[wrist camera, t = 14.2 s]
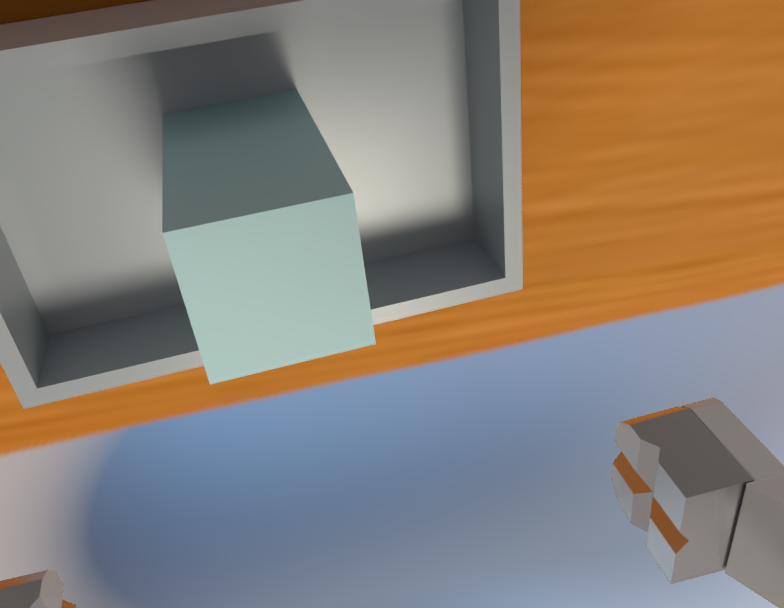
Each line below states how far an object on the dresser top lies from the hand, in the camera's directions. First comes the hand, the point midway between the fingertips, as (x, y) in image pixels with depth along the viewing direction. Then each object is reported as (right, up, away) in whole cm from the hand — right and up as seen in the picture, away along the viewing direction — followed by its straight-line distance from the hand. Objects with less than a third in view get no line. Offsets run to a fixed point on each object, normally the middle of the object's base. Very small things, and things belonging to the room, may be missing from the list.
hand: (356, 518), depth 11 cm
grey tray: (-4, +8, +13) cm, 16 cm away
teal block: (-4, +7, +12) cm, 15 cm away
